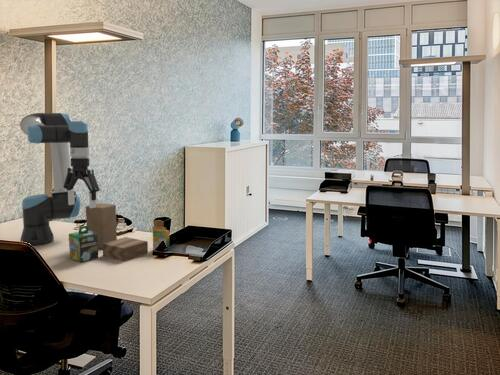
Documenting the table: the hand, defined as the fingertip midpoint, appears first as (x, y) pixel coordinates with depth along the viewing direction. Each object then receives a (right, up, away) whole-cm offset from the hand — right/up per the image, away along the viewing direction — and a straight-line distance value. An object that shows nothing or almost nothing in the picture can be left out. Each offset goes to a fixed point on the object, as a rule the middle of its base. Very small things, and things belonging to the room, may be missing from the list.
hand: (82, 206), depth 199 cm
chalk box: (0, -23, +4) cm, 24 cm away
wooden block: (+1, -20, +24) cm, 32 cm away
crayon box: (+31, -22, +17) cm, 42 cm away
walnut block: (+16, -23, +10) cm, 30 cm away
